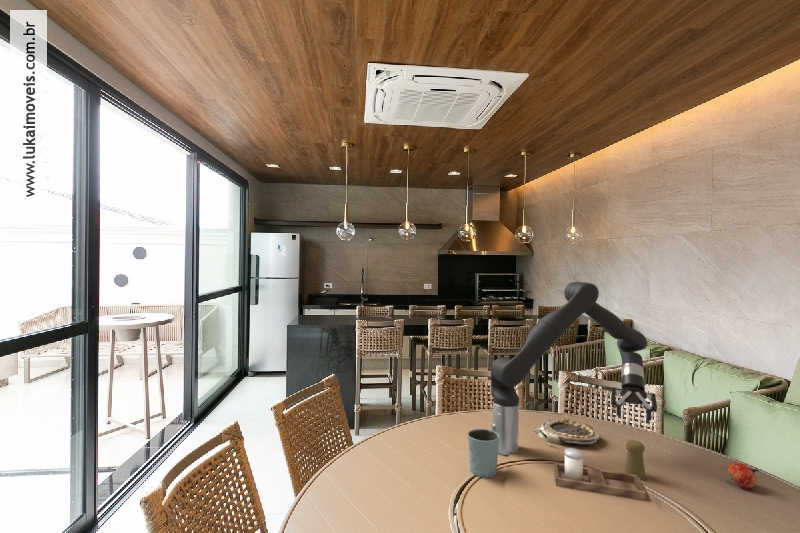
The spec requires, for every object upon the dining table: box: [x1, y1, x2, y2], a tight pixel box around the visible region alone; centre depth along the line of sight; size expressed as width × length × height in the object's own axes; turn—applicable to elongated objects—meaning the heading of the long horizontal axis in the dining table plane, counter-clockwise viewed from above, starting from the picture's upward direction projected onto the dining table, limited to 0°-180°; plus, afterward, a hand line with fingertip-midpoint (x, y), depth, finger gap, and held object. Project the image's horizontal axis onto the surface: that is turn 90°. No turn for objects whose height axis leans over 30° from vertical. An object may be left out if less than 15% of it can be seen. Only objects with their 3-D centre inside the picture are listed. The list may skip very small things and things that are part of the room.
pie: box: [533, 418, 601, 448], centre depth 161 cm, size 28×27×5 cm
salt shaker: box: [564, 447, 584, 481], centre depth 126 cm, size 5×5×9 cm
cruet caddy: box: [553, 462, 647, 501], centre depth 124 cm, size 24×11×3 cm, turn 72°
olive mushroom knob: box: [624, 439, 646, 481], centre depth 131 cm, size 6×6×11 cm
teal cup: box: [467, 428, 499, 478], centre depth 132 cm, size 10×10×12 cm
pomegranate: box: [724, 461, 760, 490], centre depth 126 cm, size 7×7×10 cm
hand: (633, 418), depth 142 cm, fingers open, 8 cm apart
